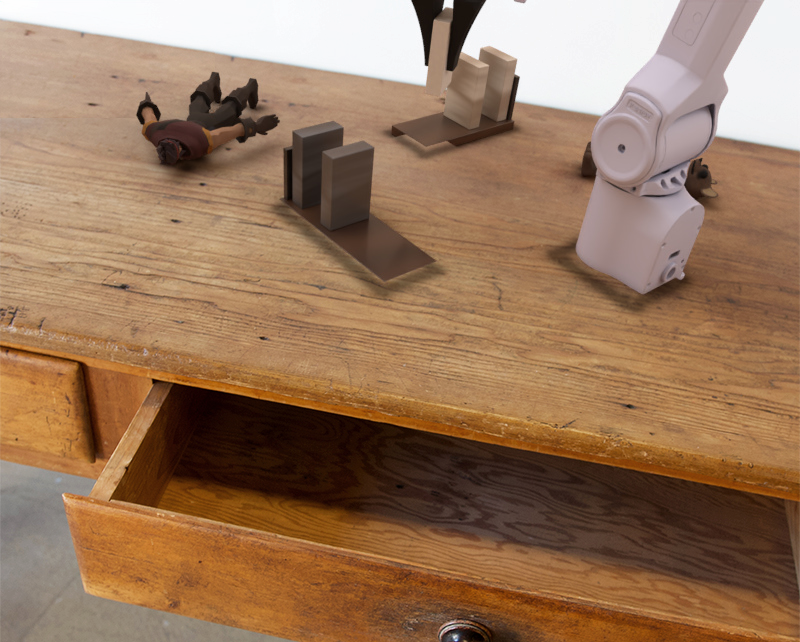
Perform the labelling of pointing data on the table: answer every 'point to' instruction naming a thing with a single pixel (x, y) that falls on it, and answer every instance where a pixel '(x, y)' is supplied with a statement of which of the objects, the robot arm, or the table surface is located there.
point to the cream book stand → (471, 102)
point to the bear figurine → (694, 183)
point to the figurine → (204, 122)
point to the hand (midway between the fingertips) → (440, 65)
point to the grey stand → (344, 199)
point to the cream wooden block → (439, 54)
